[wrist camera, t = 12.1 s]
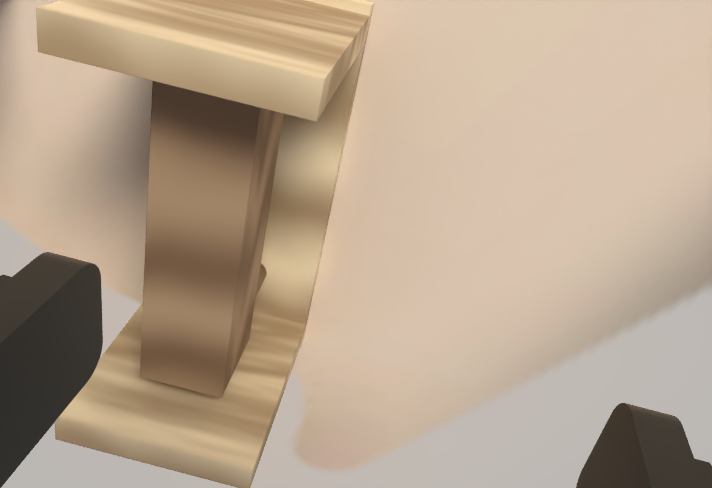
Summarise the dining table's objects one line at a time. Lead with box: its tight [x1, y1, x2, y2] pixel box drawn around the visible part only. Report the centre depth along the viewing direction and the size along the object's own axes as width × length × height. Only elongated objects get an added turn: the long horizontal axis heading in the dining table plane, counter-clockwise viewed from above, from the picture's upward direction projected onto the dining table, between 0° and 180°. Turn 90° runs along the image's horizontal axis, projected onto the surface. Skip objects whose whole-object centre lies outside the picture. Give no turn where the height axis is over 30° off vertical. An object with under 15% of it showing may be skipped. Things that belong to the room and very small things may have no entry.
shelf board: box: [140, 81, 284, 398], centre depth 32 cm, size 16×4×5 cm, turn 168°
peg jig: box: [36, 0, 374, 488], centre depth 32 cm, size 22×10×13 cm, turn 168°
